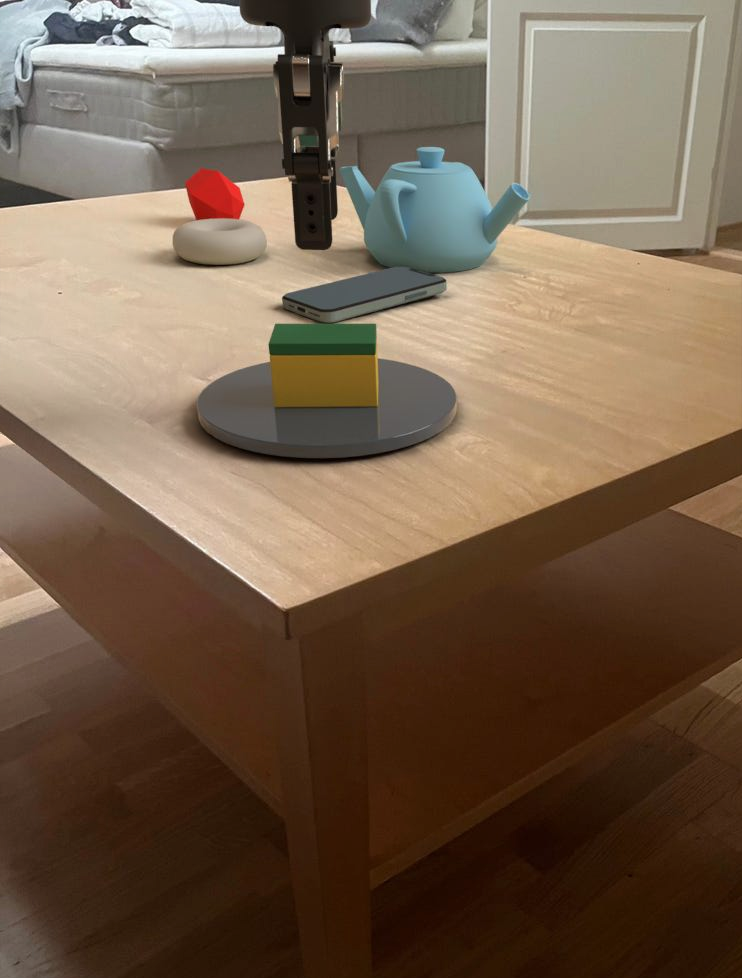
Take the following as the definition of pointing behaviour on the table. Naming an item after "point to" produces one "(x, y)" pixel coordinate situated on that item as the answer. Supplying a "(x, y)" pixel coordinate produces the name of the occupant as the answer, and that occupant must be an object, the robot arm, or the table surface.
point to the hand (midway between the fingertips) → (318, 233)
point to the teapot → (431, 214)
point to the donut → (219, 241)
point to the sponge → (324, 365)
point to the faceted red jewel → (214, 196)
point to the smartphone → (364, 294)
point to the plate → (327, 414)
